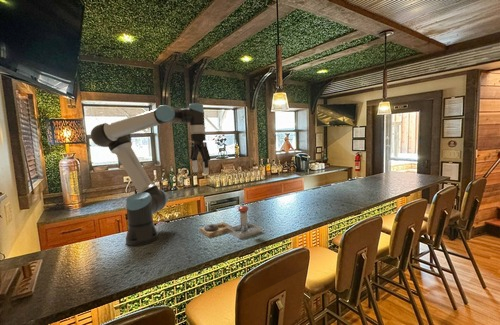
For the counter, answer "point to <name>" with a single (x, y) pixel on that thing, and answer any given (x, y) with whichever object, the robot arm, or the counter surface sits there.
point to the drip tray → (241, 235)
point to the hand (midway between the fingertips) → (200, 173)
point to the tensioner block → (215, 229)
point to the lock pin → (243, 218)
